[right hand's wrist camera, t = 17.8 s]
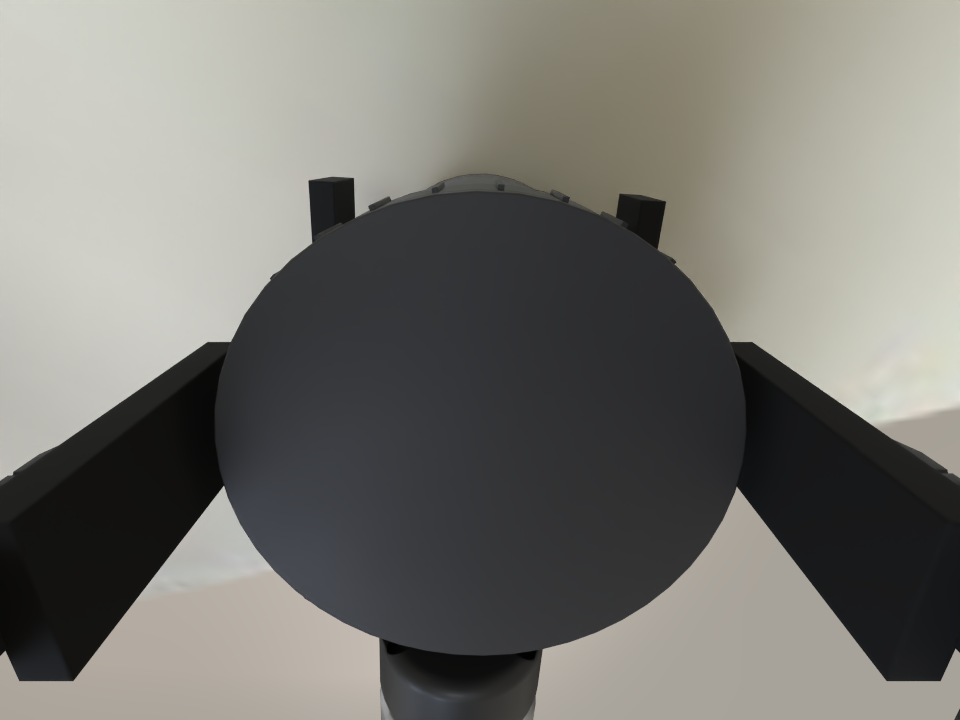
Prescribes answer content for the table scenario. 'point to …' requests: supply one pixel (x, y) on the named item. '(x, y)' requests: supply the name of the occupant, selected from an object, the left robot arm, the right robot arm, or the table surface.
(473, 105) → the table surface
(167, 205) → the table surface
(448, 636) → the lid
